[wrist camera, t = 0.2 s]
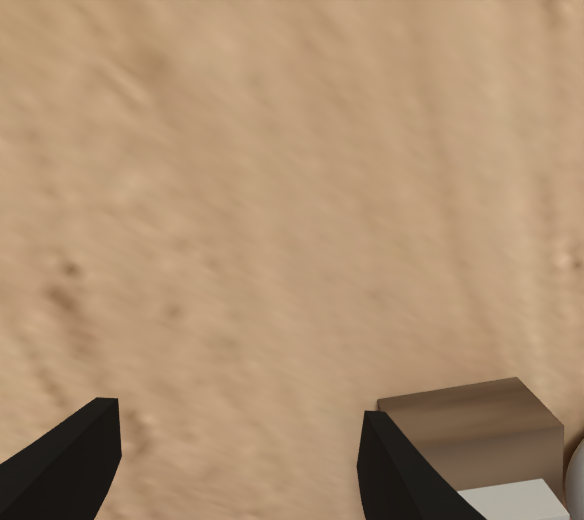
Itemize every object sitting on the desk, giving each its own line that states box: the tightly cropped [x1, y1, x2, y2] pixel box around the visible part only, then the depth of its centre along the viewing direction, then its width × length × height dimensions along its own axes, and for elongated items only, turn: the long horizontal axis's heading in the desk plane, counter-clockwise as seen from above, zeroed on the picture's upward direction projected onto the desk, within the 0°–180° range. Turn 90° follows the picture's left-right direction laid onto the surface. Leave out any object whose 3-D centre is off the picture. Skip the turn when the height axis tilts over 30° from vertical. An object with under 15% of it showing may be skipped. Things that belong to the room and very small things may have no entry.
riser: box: [378, 377, 564, 504], centre depth 22 cm, size 10×8×4 cm
